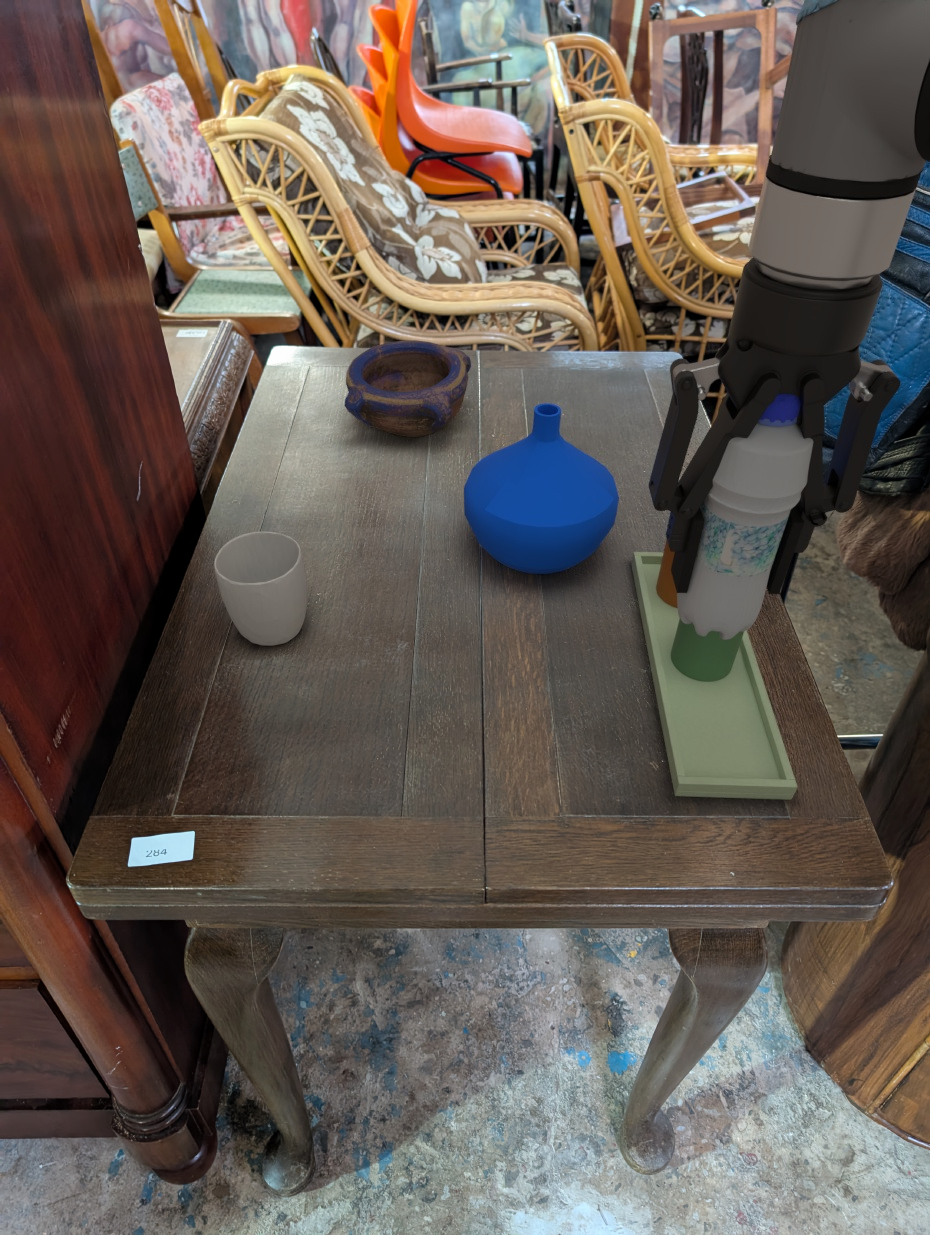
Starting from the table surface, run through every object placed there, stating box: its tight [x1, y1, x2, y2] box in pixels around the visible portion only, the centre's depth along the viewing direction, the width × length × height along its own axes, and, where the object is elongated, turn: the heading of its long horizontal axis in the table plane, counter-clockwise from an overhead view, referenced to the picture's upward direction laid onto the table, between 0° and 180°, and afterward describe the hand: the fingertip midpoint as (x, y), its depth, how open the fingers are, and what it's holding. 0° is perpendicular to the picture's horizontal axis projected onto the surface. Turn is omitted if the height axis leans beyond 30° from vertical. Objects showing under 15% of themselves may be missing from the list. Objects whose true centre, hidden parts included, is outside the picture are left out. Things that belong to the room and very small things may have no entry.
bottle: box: [677, 394, 813, 640], centre depth 56 cm, size 7×7×20 cm
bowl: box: [343, 339, 472, 438], centre depth 118 cm, size 18×18×10 cm
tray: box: [630, 551, 798, 801], centre depth 84 cm, size 34×11×2 cm, turn 178°
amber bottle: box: [656, 538, 677, 608], centre depth 87 cm, size 6×6×16 cm
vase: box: [463, 402, 620, 575], centre depth 93 cm, size 18×18×19 cm
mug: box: [213, 531, 308, 647], centre depth 87 cm, size 13×9×10 cm
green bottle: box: [671, 619, 744, 682], centre depth 79 cm, size 6×6×16 cm
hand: (724, 581), depth 60 cm, fingers closed on bottle, 6 cm apart
